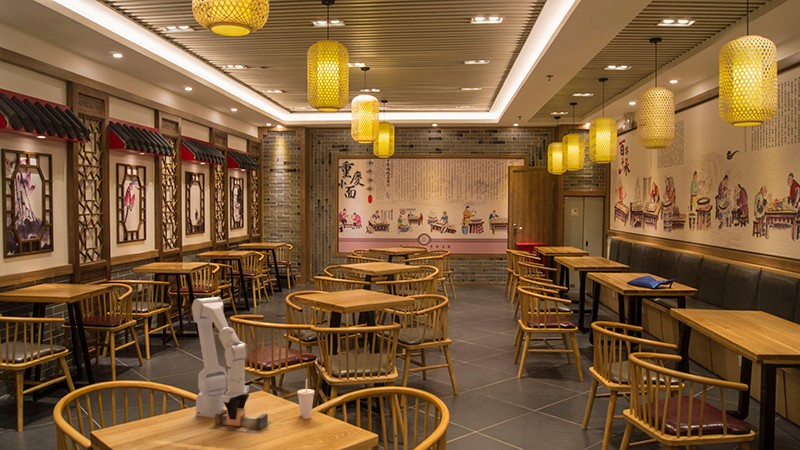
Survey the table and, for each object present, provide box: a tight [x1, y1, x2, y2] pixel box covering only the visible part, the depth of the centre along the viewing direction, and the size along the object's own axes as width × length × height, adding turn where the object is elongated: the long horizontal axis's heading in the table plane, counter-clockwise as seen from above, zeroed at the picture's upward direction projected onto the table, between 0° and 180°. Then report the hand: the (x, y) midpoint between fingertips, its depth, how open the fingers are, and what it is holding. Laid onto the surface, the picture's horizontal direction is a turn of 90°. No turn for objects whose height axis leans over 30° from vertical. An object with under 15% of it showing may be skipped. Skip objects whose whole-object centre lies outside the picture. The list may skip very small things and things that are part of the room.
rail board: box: [208, 409, 273, 435], centre depth 212 cm, size 18×12×5 cm, turn 75°
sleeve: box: [227, 407, 246, 426], centre depth 213 cm, size 5×4×5 cm
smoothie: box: [296, 378, 315, 420], centre depth 224 cm, size 6×6×14 cm
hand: (236, 417), depth 213 cm, fingers closed on sleeve, 4 cm apart
